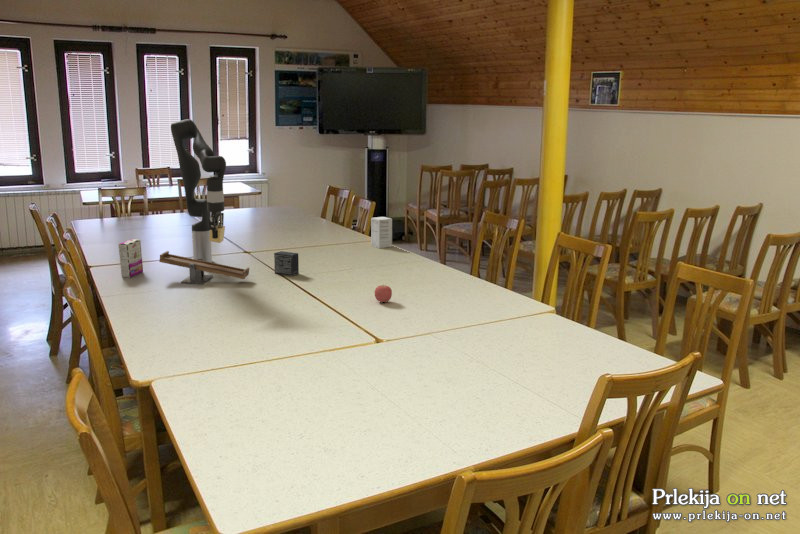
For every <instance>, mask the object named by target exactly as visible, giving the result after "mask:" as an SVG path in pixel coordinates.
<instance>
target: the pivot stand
mask: <svg viewBox="0 0 800 534" xmlns="http://www.w3.org/2000/svg"><path fill="white" fill-rule="evenodd" d="M198 260H201V261H203V259H198ZM188 269H189V276H187V277H186V278H184V279H182V280H181V281H180V284H182V285H201V286H203V285H204V284H205V283H207V282H208V281H210V280H211V279H213V277H214V274H205V271H201V270H196V269H195V264H189V268H188Z"/></svg>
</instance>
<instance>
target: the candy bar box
mask: <svg viewBox="0 0 800 534" xmlns="http://www.w3.org/2000/svg"><path fill="white" fill-rule="evenodd" d="M118 252H119V254H118V255H119V262H120V264H119V265H120V272H121V277H122V278H133V277H135V276H138V275H140V274H141V273H144V270H143V269H144V267H143V266H144V265H143V257H142V245H141V239H139V238H138V239H135V238H132V239H129V240H125V241H123V242H120V243H118Z"/></svg>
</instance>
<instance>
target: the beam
mask: <svg viewBox="0 0 800 534" xmlns="http://www.w3.org/2000/svg"><path fill="white" fill-rule="evenodd" d="M159 263H163V264H166V265H167V264H169V265H172V266H177V267H183V268H187V269H189V264H195V269H196V270H201V271H204V272H208V273H212V274H217V275H223V276H227V277H231V278H236V279H239V280H240V279H242V280H244V279H246V277H248V276H249V275H250V267H246V268H241V267H236V266H235V267H234V266H230V265H226V264H222V263H221V264H220V263H215V262H212V263H211V262H206V261H201V260H196V259H193V257H192V258H191V257H186V256H180V255H176V254H171V253H170V251H169V250H166V251H165V252H163V253H161V254H159Z"/></svg>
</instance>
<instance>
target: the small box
mask: <svg viewBox="0 0 800 534" xmlns="http://www.w3.org/2000/svg"><path fill="white" fill-rule="evenodd" d="M273 255H274V257H273V258H274V274H275V275H282V276H289V277H294V276H295V275H296V276H297V275H298V274H300V272H299V252H298V253H297V252H290V251H281V250H280V251H277V252H274V253H273Z"/></svg>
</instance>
